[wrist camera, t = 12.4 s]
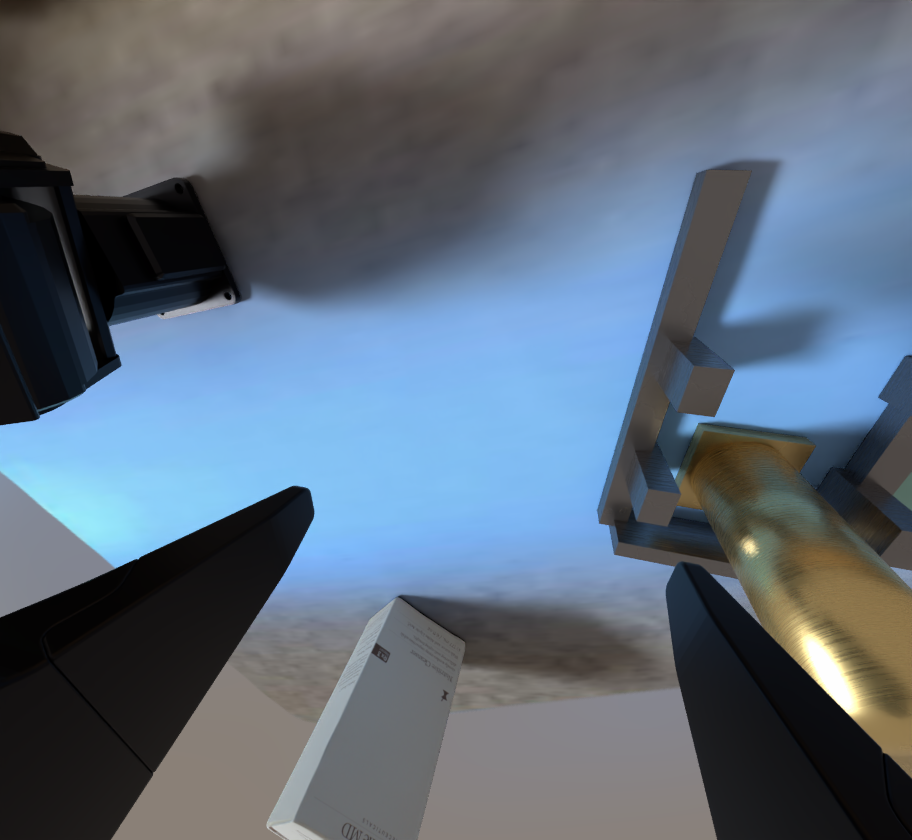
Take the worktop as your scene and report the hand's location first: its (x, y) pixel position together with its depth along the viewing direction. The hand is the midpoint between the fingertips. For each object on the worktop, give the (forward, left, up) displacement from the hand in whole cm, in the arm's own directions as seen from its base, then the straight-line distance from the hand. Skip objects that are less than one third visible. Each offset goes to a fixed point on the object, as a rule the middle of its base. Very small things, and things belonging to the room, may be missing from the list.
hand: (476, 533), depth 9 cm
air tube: (+11, -8, -13) cm, 18 cm away
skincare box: (-13, -25, -13) cm, 31 cm away
